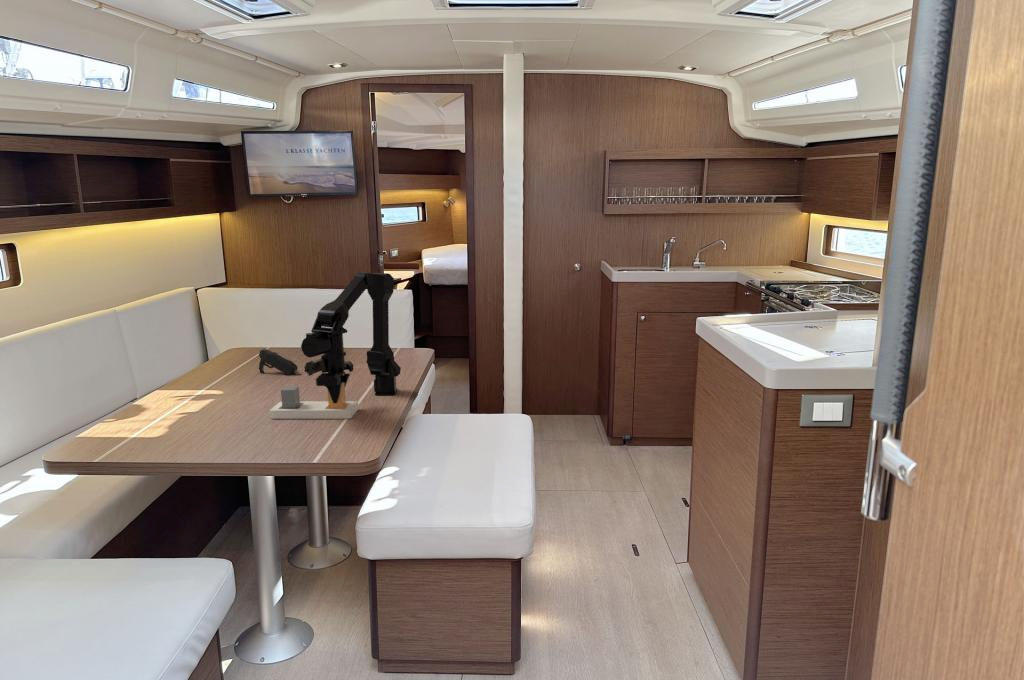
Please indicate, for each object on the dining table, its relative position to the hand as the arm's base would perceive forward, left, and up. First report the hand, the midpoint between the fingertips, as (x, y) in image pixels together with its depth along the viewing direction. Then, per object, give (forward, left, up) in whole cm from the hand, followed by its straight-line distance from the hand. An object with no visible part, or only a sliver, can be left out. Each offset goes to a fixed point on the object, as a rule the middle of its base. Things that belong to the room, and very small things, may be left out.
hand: (337, 400), depth 206 cm
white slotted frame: (+7, 0, -4) cm, 8 cm away
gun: (+35, -47, -4) cm, 59 cm away
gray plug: (+14, 0, -4) cm, 15 cm away
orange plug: (0, 0, -3) cm, 3 cm away
